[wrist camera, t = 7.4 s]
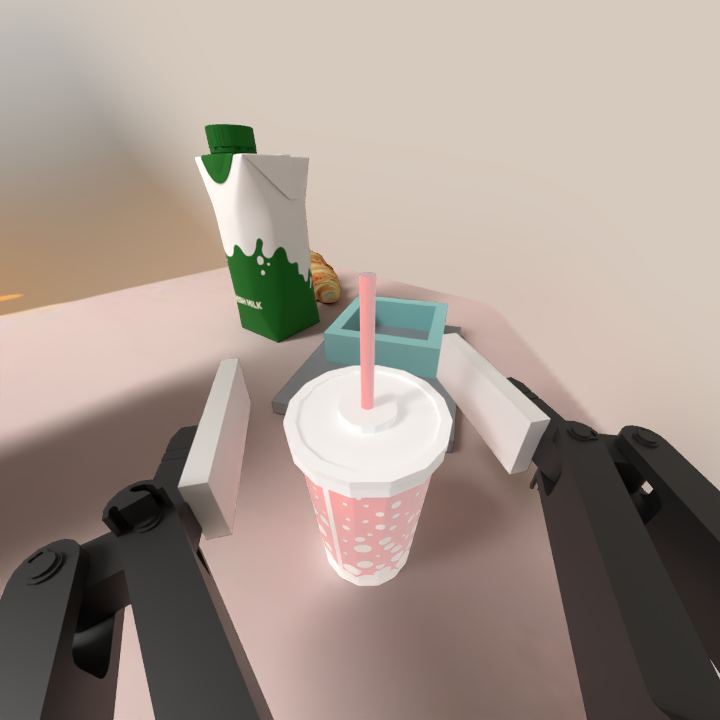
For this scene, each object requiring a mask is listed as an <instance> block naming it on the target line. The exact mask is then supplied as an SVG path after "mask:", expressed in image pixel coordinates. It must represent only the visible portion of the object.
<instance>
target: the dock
mask: <svg viewBox="0 0 720 720" xmlns="http://www.w3.org/2000/svg"><path fill="white" fill-rule="evenodd" d="M447 309H448V304H445V303H436V302H426V301H416V300H406V299H396V298H386V297H376V303H375V362H374V365H380V366H385V367H389V368H394V369H399V370H403V371H406V372H408V373H410V374H412V375H414V376H416V377H418V378H420V379H422V380H424V381H426V382H428V383H429V384H430V385H431V386H432V387H433V388H434V389H435V390H436V391H437V392H438V393H439V394H440V395H441V396H442V397H443V398H444V399H445V402H446V404H447V407H448V410H449V412H450V415H451V417H452V420H453V422H452V427H451V432H450V437H449V442H448V447H447V451H446V452H449V453H451V451H452V447H453V443H454V432H455V415H456V403H455V401H454V400H453V399H452V397H451V396H450V395H449V393H448V392H447V391H446V389H445V388H444V387H443V385H442V384H441V383H440V381H439V380H438V379H437V378H436V375H437V369H438V362H439V356H440V350H441V344H442V337H443V334H451V333H457V334H458V335H459V336H460V331H461V327H454V326H446V325H445V321H446V315H447ZM349 366H361V365H360V295H358V296H357V297H356V298H355V299H354V300H353V302H352V303H351V304H350V305H349V306H348V307H347V308H346V309H345V310H344V311H343V312H342V314H341V315H340V316H339V317H338V318H337V319H336V320H335V321H334V322H333V323H332V324H331V326H330V327H329V328H328V329H327V330H326V331H325V332H324V341H323V343H322V344H321V345H320V346H319V347H318V348H317V349H316V351H315V352H314V353H313V354H312V355H311V356H310V357H309V359H308V360H307V361H306V362H305V363H304V364H303V365H302V367H301V368H300V369H299V370H298V371H297V372H296V374H295V375H294V376H293V377H292V378H291V379H290V380H289V382H288V383H287V384H286V385H285V386H284V387H283V388H282V390H281V391H280V392H279V393H278V394H277V395H276V396H275V398H274V399H273V400H272V406H273V410H274V412H275V413H279V414H283V415H286V411H287V408H288V405H289V401H290V400H291V399H292V398H293V397H294V395H295V394H296V393H297V392H298V391H299V390H300V389H301V388H302V387H303V386H304V385H305V384H306V383H307V382H309V381H311V380H313V379H315V378H317V377H319V376H320V375H322V374H324V373H326V372H328V371H332V370H336V369H341V368H345V367H349Z"/></svg>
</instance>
